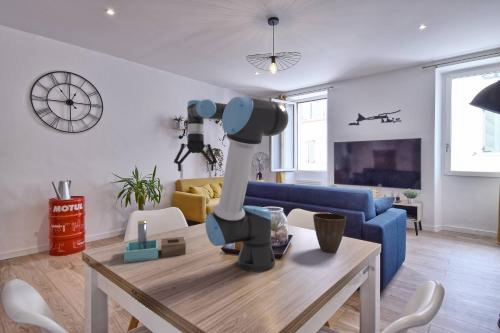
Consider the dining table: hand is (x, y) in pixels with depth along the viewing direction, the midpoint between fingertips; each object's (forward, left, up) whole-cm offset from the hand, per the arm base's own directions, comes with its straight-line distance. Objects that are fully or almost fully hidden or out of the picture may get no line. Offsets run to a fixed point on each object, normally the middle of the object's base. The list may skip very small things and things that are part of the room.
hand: (196, 178), depth 124 cm
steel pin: (-4, +24, -32) cm, 40 cm away
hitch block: (-4, +11, -33) cm, 35 cm away
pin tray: (-4, +24, -33) cm, 41 cm away
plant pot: (-25, -58, -33) cm, 71 cm away
